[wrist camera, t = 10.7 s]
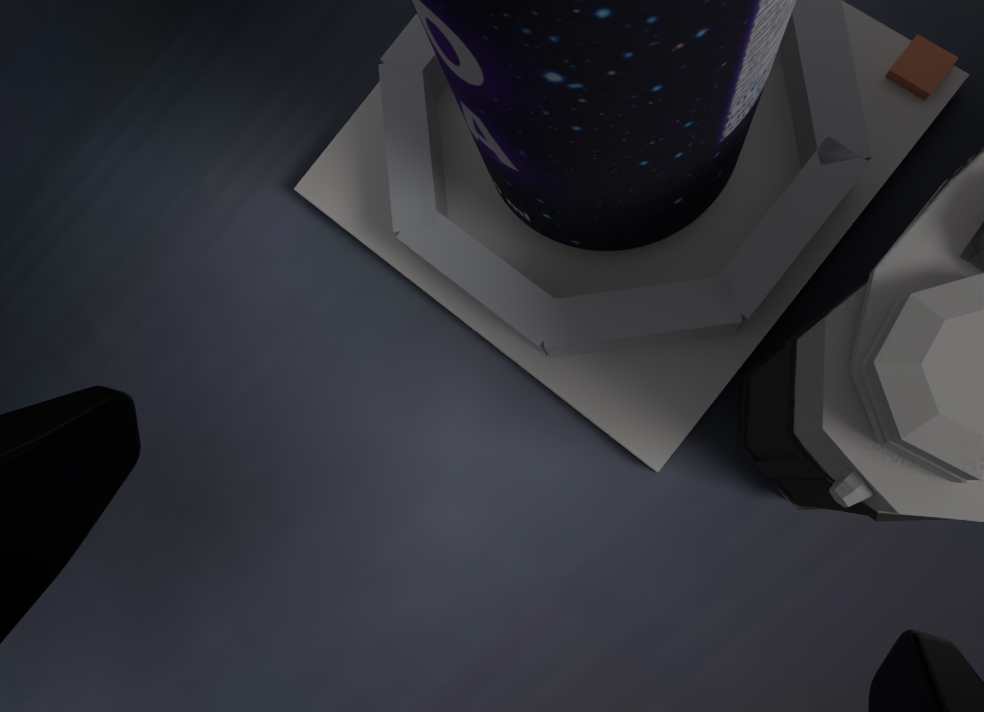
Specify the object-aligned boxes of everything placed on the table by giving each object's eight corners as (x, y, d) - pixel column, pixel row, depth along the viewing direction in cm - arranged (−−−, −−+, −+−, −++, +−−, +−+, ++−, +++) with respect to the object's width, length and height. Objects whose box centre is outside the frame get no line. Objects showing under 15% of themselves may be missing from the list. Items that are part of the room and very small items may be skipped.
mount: (656, 472, 18) (660, 472, 16) (303, 197, 20) (268, 167, 18) (957, 87, 18) (999, 39, 16) (571, -140, 20) (566, -206, 18)
